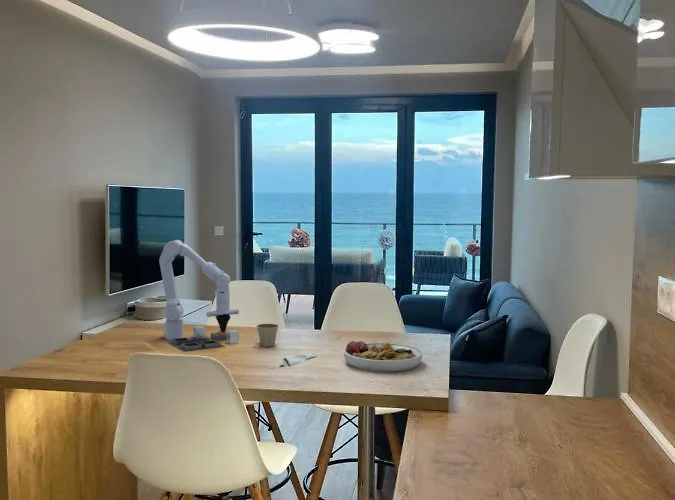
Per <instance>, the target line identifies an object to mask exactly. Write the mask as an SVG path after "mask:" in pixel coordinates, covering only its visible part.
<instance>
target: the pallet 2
mask: <svg viewBox="0 0 675 500" xmlns="http://www.w3.org/2000/svg"><path fill="white" fill-rule="evenodd" d="M225 347H226V346H225V345H224V344H223V345H222V344H221V342H220V341H217V340H215V339H210V340H209V341H201V342H199V343H197V342H192V343H184V344H181V346H177V347H175V349H178V350H179V351H180V352H183V353H187V352H195V351H204V350H211V349H218V348H225Z"/></svg>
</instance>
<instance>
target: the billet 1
mask: <svg viewBox="0 0 675 500" xmlns="http://www.w3.org/2000/svg"><path fill="white" fill-rule="evenodd" d="M205 336H206V327H205V326H202V325H199V326H192V337H193V338H194V339H204V338H205Z"/></svg>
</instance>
